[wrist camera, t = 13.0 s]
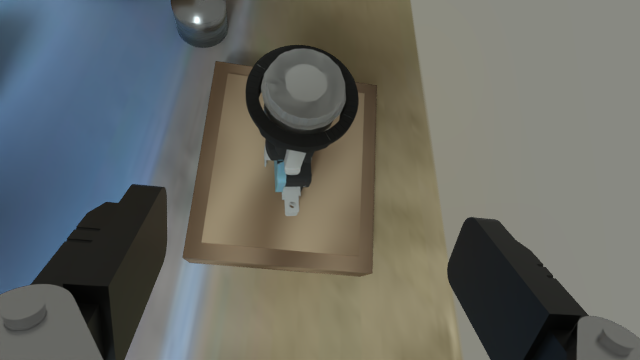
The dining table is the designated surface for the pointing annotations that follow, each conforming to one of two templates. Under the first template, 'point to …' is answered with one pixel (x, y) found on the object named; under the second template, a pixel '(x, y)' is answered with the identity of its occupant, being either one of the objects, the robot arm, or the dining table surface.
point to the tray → (267, 205)
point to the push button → (299, 111)
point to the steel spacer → (200, 21)
